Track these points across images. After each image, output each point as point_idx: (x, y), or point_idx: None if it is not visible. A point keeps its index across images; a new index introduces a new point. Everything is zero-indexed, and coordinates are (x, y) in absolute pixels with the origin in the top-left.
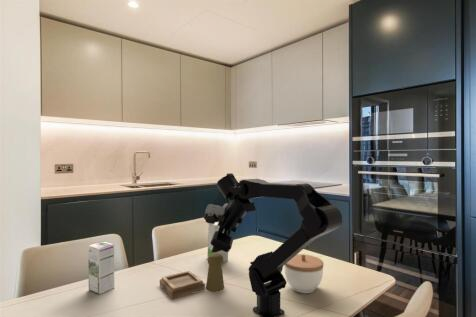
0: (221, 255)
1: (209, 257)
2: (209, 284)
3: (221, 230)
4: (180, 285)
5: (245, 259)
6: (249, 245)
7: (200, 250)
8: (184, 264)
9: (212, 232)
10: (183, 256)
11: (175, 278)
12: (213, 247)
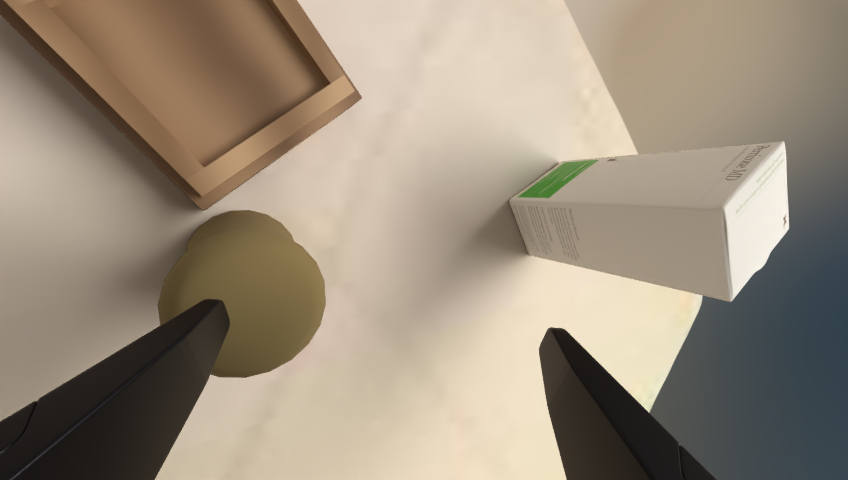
0: (259, 369)
1: (194, 263)
2: (194, 241)
3: (554, 387)
4: (77, 42)
5: (546, 320)
6: (645, 302)
7: (614, 122)
8: (494, 61)
9: (669, 184)
10: (566, 51)
11: (255, 7)
12: (70, 388)
